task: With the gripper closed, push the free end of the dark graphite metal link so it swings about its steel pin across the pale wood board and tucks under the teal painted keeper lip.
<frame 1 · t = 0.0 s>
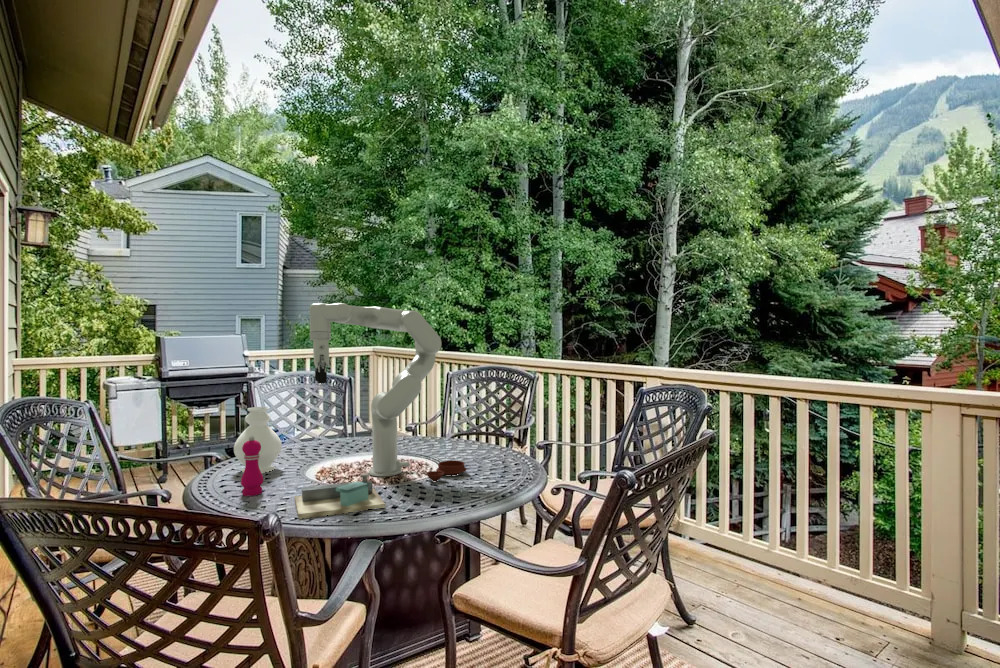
hand: (320, 381, 223), 37 cm above the table, tool pointing down, fingers open, 9 cm apart
link: (338, 490, 195), point 3 cm above the table, hinge at 0.0°
keeper: (365, 498, 199), resting on base board
decorative vase: (258, 470, 238), on the table
base board: (338, 504, 192), on the table
pepper mill: (252, 494, 205), on the table
pottery: (445, 477, 226), on the table
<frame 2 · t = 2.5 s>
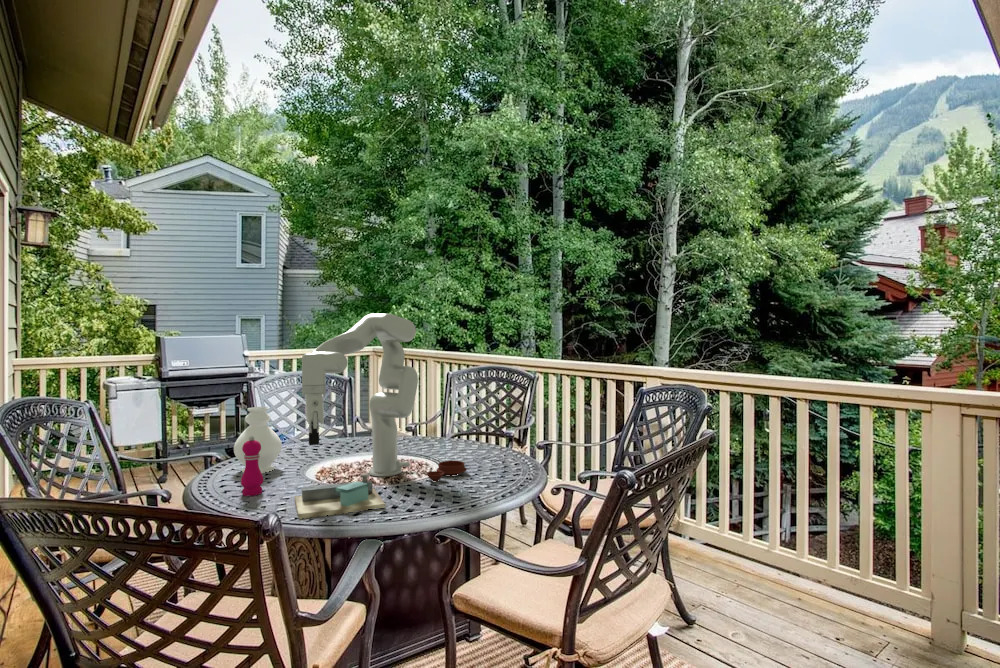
hand: (313, 444, 199), 18 cm above the table, tool pointing down, fingers closed
nothing on the table moved.
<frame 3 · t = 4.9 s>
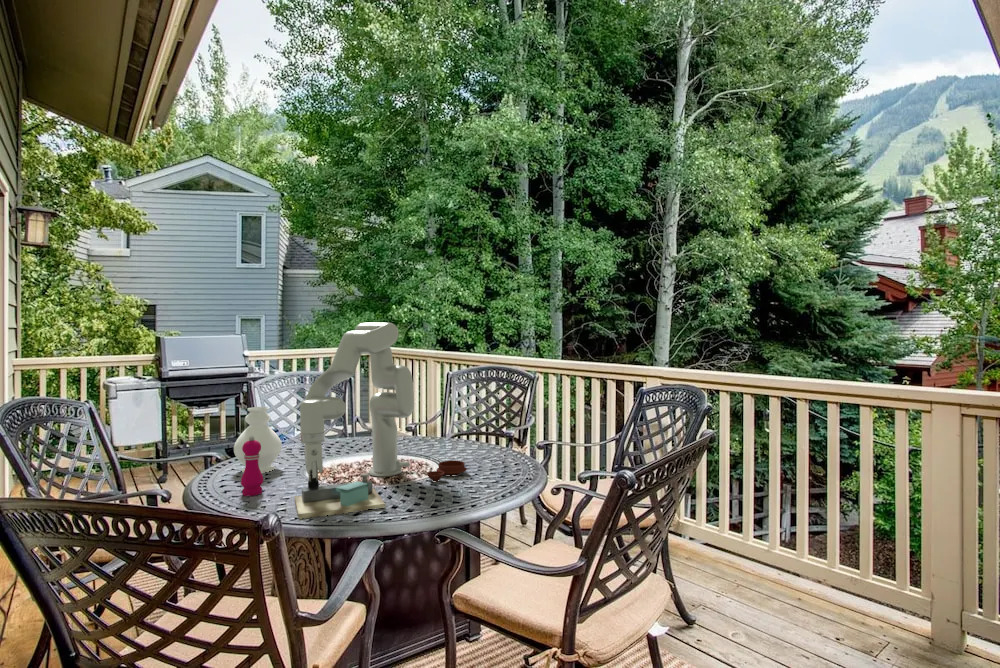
hand: (313, 492, 196), 3 cm above the table, tool pointing down, fingers closed
link: (338, 491, 195), point 3 cm above the table, hinge at 3.0°, touching gripper
everything else where it was.
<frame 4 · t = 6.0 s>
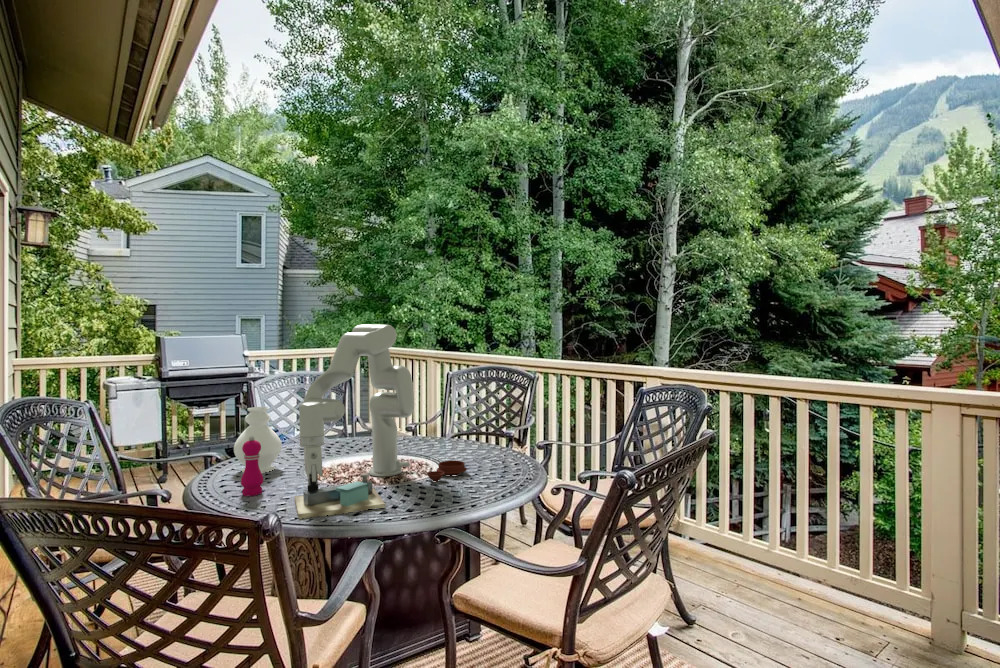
hand: (313, 496, 192), 2 cm above the table, tool pointing down, fingers closed
link: (339, 492, 193), point 3 cm above the table, hinge at 15.1°, touching gripper
everything else where it was.
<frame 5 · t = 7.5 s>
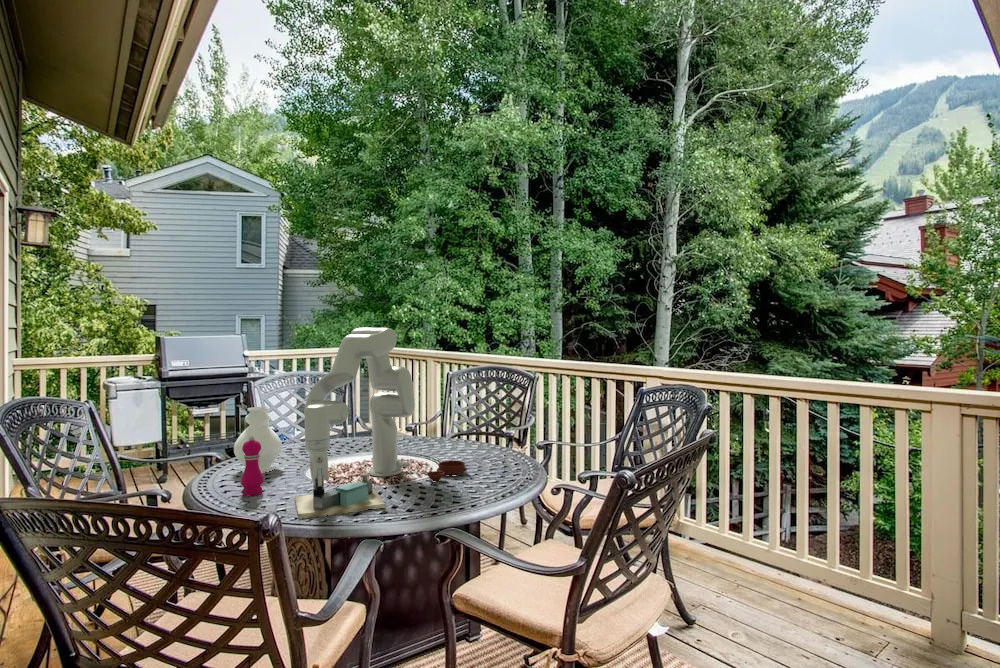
hand: (319, 501, 188), 2 cm above the table, tool pointing down, fingers closed
link: (345, 494, 191), point 3 cm above the table, hinge at 35.5°, touching gripper
everything else where it was.
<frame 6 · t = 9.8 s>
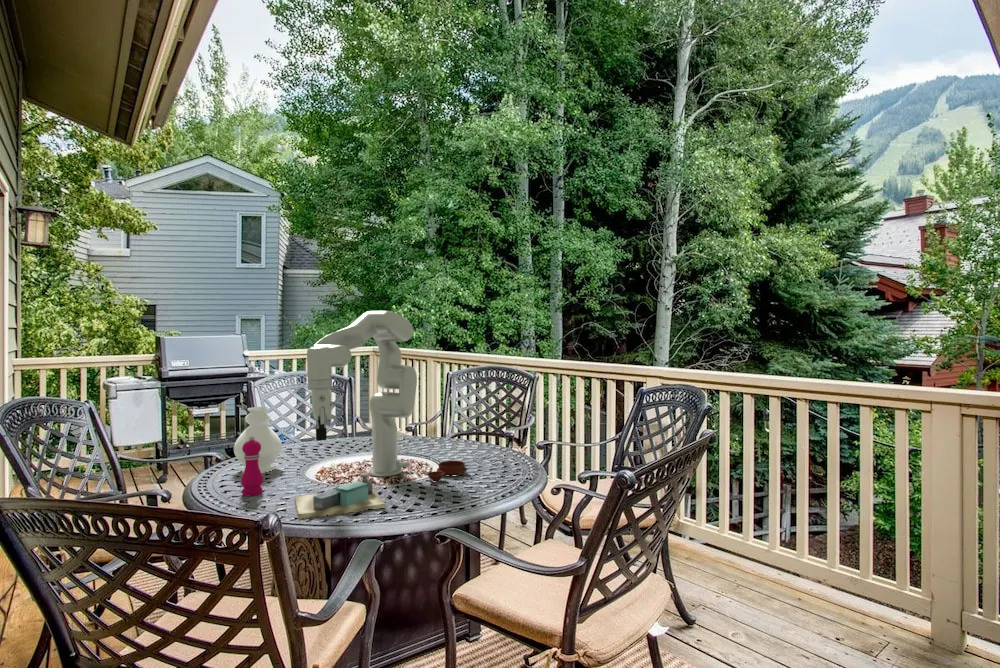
hand: (321, 439, 195), 20 cm above the table, tool pointing down, fingers closed
link: (345, 494, 191), point 3 cm above the table, hinge at 35.7°
everything else where it was.
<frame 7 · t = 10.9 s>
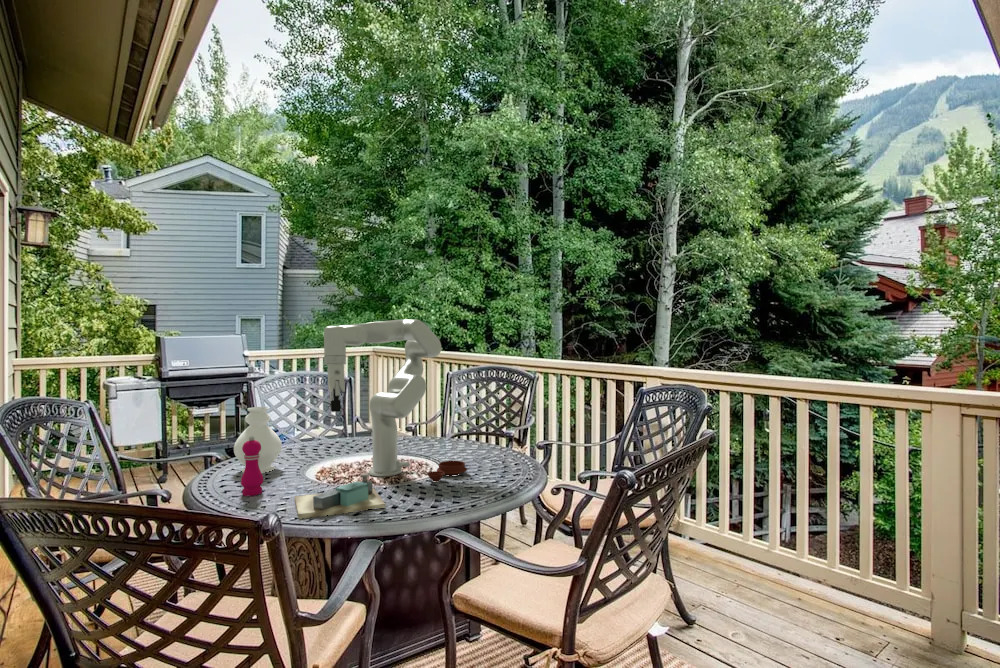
hand: (335, 411, 213), 27 cm above the table, tool pointing down, fingers closed
nothing on the table moved.
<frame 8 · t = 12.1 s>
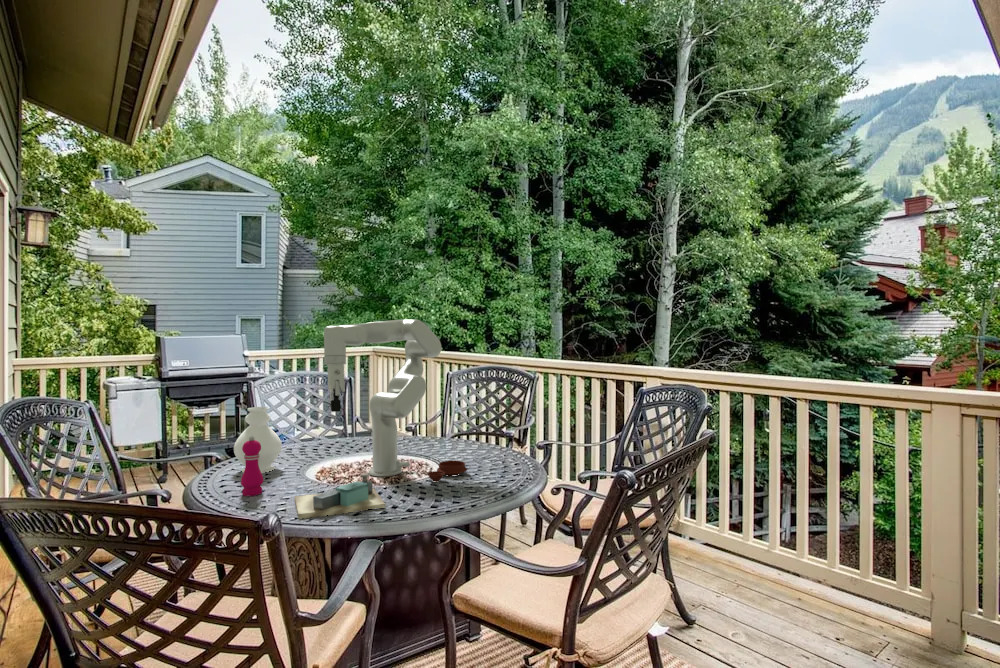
hand: (335, 411, 213), 27 cm above the table, tool pointing down, fingers closed
nothing on the table moved.
at the end: link at +36° (first picture: +0°) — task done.
